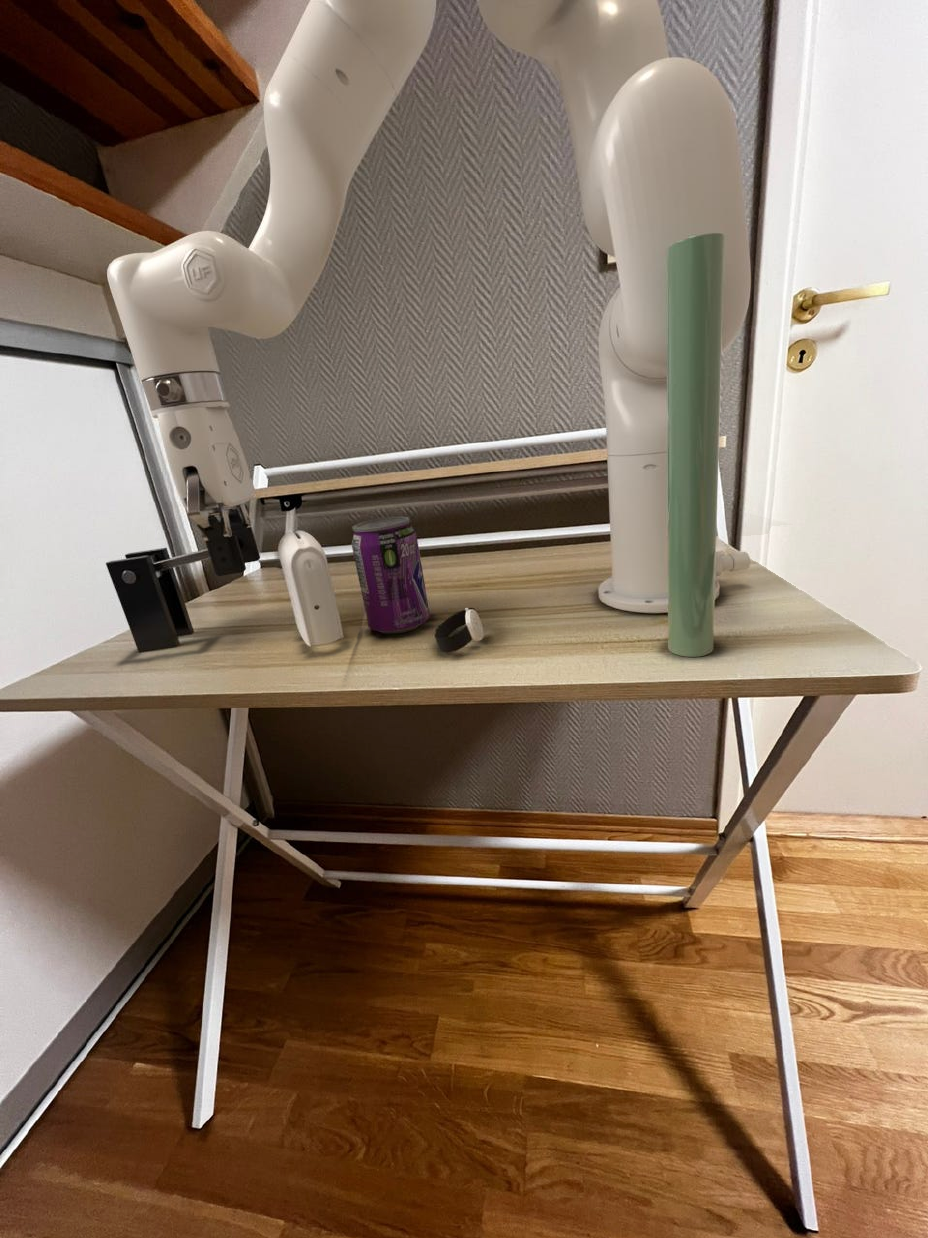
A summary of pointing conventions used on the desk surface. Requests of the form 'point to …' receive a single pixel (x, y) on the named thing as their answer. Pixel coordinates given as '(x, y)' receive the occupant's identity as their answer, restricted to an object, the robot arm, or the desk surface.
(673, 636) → the tall green cylinder
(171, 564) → the lever
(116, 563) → the bracket
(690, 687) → the desk surface
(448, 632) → the watch
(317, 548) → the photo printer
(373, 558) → the beverage can
